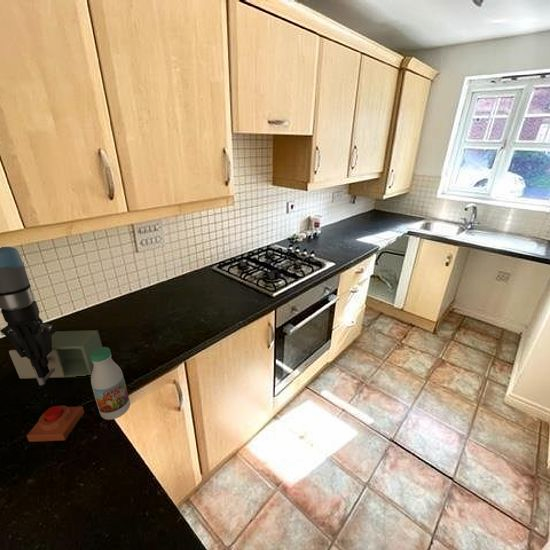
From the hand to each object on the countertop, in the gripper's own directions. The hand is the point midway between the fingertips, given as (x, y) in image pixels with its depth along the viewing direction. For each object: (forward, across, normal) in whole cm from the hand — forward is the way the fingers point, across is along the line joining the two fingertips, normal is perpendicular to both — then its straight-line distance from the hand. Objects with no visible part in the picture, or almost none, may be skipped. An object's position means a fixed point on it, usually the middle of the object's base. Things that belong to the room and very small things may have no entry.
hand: (44, 374), depth 90 cm
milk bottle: (+7, -23, +8) cm, 25 cm away
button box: (+7, -10, +13) cm, 18 cm away
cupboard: (+7, -2, -11) cm, 13 cm away
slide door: (+6, +6, -3) cm, 9 cm away
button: (+3, -10, +13) cm, 17 cm away
